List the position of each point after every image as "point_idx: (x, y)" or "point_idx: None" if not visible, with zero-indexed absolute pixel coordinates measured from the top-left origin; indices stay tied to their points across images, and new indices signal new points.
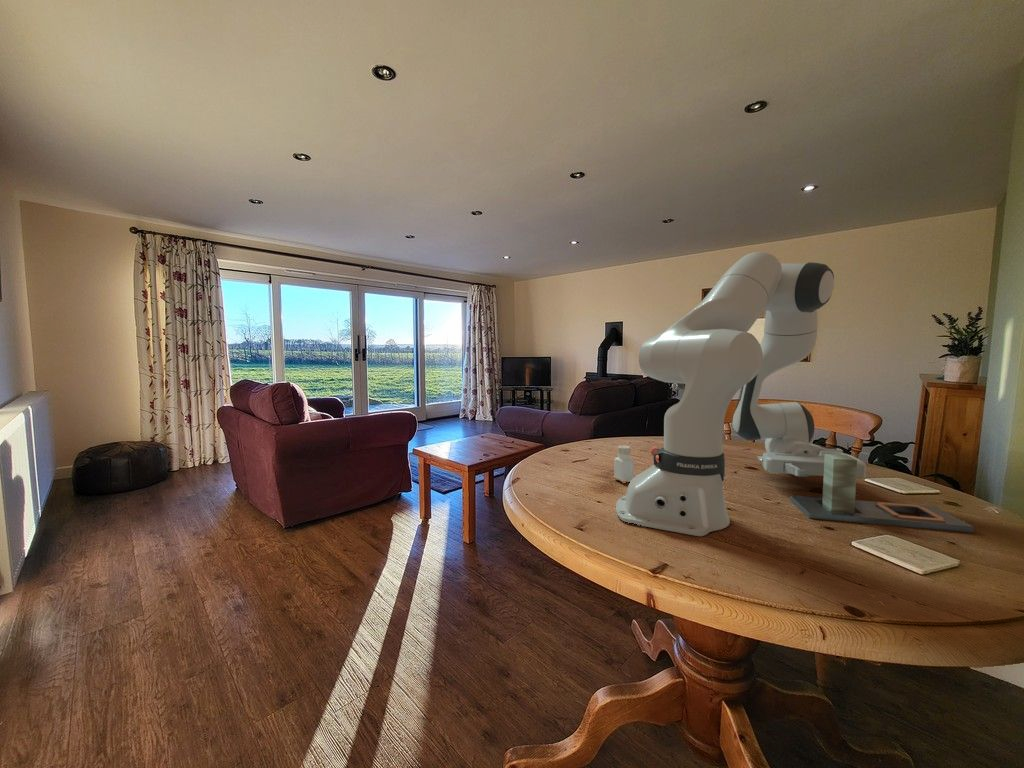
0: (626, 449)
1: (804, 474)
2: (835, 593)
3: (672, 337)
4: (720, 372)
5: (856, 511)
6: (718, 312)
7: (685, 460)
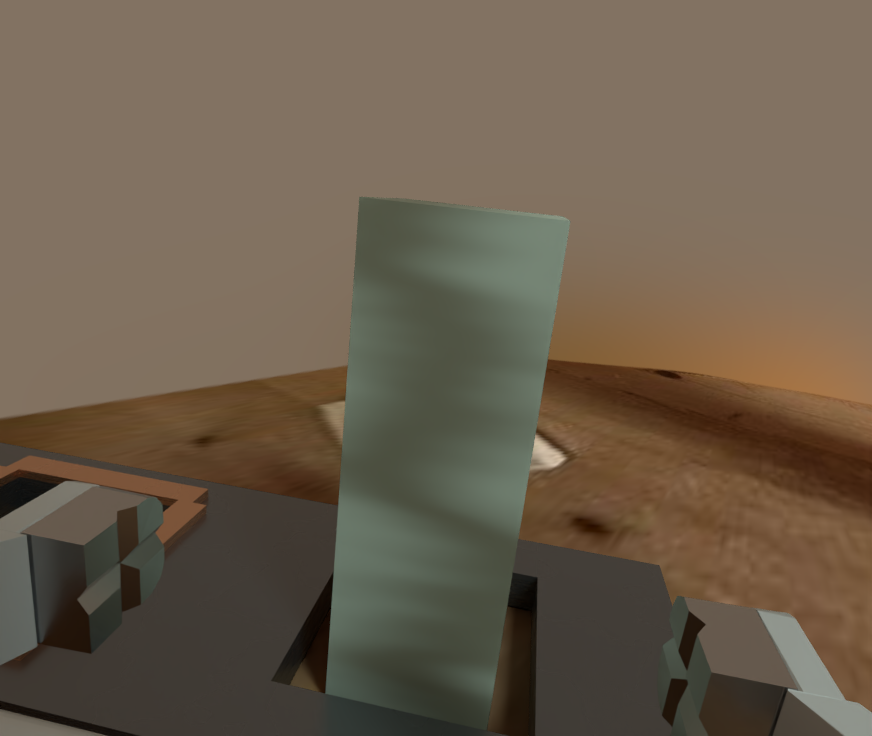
0: None
1: (665, 651)
2: (684, 388)
3: None
4: None
5: (323, 602)
6: None
7: None
